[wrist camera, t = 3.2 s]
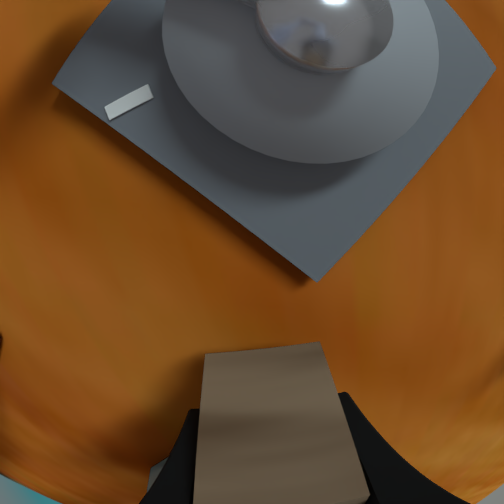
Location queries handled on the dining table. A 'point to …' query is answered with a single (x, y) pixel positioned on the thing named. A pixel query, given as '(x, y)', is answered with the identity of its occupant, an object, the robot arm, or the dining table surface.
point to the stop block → (274, 431)
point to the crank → (323, 32)
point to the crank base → (263, 182)
